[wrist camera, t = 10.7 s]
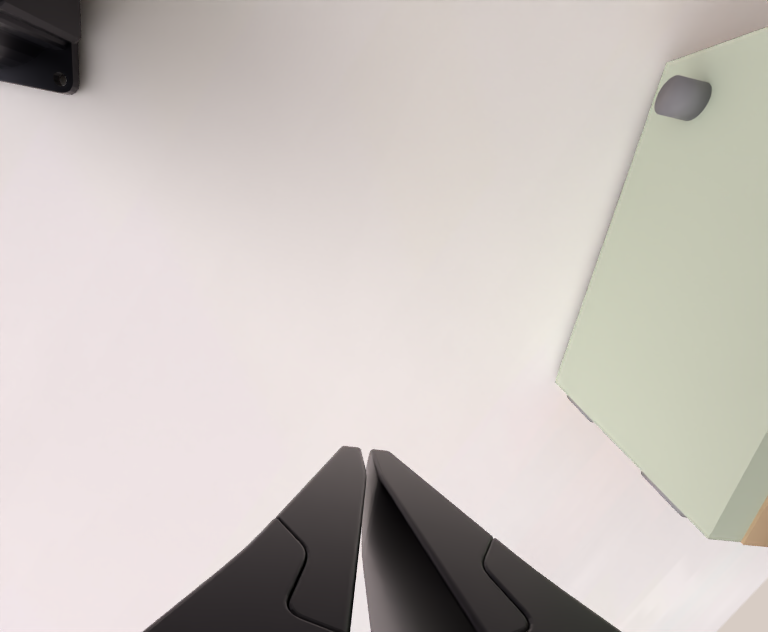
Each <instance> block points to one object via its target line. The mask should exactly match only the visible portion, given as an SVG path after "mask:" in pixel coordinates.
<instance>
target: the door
mask: <svg viewBox="0 0 768 632" xmlns="http://www.w3.org/2000/svg"><path fill="white" fill-rule="evenodd" d="M555 383H556V384H557V385H558V386H559V387H560V388H561V389H562V390H563V391H564V392H565V393H566V394H567V397H568V399H569V400H570V401H571V402H572V403H573V404H574V405H575V406H576V407H577V408H578V409H579V410H580V412H581V413H582V414H583V415H584V416H585V417H586V418H587V419H588V420H589V421H590V422H594V423H595V424H596V425H597V426H598V427H599V428H600V429H601V430H602V431H603V432H604V433H605V434H606V435H607V436H608V437H609V438H610V439H611V440H612V441H613V442H614V443H615V444H616V445H617V446H618V447H619V448H620V449H621V450H622V451H623V452H624V453H625V454H626V456H627V457H628V458H629V459H630V460H631V461H632V462H633V463H634V464H635V465H636V466H637V467H638V468H639V469H640V470H641V474H642V476H643V477H644V478H645V479H646V480H647V481H648V482H649V483H650V484H651V485H652V486H653V487H654V488H655V489H656V490H657V492H658V493H659V494H660V495H661V496H662V497H663V498H664V499H665V500H666V501H667V502H668V503H669V504H670V505H671V506H672V507H673V508H674V509H675V510H676V511H677V512H678V513H679V514H680V515H681V516H682V517H686V518H688V519H689V520H690V521H691V522H692V523H693V524H694V525H695V526H696V527H697V528H698V529H699V530H700V531H701V532H702V533H703V534H704V535H705V536H706V538H707V539H713V540H724V541H735V542H741V541H742V539H743V537H744V535H745V534H746V532H747V530H748V529H749V527H750V525H751V523H752V522H753V520H754V518H755V517H756V515H757V513H758V511H759V510H760V508H761V506H762V504H763V503H764V501H765V499H766V498H767V496H768V27H765V28H762V29H760V30H757V31H754V32H751V33H748V34H746V35H743V36H740V37H737V38H734V39H732V40H729V41H726V42H723V43H720V44H718V45H715V46H712V47H709V48H706V49H704V50H701V51H698V52H695V53H692V54H690V55H687V56H684V57H681V58H678V59H676V60H673V61H670V62H667V63H666V66H665V68H664V71H663V74H662V77H661V80H660V83H659V86H658V88H657V91H656V94H655V97H654V100H653V103H652V106H651V108H650V111H649V114H648V117H647V120H646V123H645V126H644V128H643V131H642V134H641V137H640V140H639V143H638V146H637V149H636V151H635V154H634V157H633V160H632V163H631V166H630V169H629V171H628V174H627V177H626V180H625V183H624V186H623V189H622V191H621V194H620V197H619V200H618V203H617V206H616V209H615V211H614V214H613V217H612V220H611V223H610V226H609V229H608V232H607V234H606V237H605V240H604V243H603V246H602V249H601V252H600V254H599V257H598V260H597V263H596V266H595V269H594V272H593V274H592V277H591V280H590V283H589V286H588V289H587V292H586V294H585V297H584V300H583V303H582V306H581V309H580V312H579V314H578V317H577V320H576V323H575V326H574V329H573V332H572V335H571V337H570V340H569V343H568V346H567V349H566V352H565V355H564V357H563V360H562V363H561V366H560V369H559V372H558V375H557V377H556V380H555Z"/></svg>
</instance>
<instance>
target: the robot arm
mask: <svg viewBox="0 0 768 632" xmlns="http://www.w3.org/2000/svg"><path fill="white" fill-rule="evenodd" d="M80 38H81V24H80V0H0V81H2V82H7V83H12V84H17V85H22V86H27V87H32V88H37V89H42V90H47V91H52V92H57V93H61V94H66V95H72V94H74V93H76V92H77V90H78V89H79V62H78V41H79V40H80ZM63 74H64V75H65V77H66V80H67V82H66V84H65V85H64V86H62V85H61V83H60V76H61V75H63ZM361 527H362V560H363V570H364V578H365V586H366V595H367V603H368V611H369V619H370V628H371V632H621V631H620V630H618V629H617V628H616V627H614V626H613V625H611V624H610V623H608V622H607V621H606V620H604V619H603V618H601V617H600V616H599V615H597V614H596V613H594V612H593V611H592V610H590V609H589V608H587V607H586V606H585V605H583V604H582V603H580V602H579V601H578V600H576V599H575V598H573V597H572V596H570V595H569V594H568V593H566V592H565V591H563V590H562V589H561V588H559V587H558V586H557V585H555V584H554V583H553V582H551V581H550V580H548V579H547V578H546V577H544V576H543V575H542V574H540V573H539V572H537V571H536V570H535V569H534V568H532V567H531V566H530V565H528V564H527V563H526V562H525V561H523V560H522V559H521V558H520V557H518V556H517V555H516V554H514V553H513V552H512V551H511V550H509V549H508V548H507V547H506V546H505V545H503V544H502V543H501V542H500V541H499V540H497V539H496V538H494V539H493V537H492V536H491V535H490V534H489V533H488V532H486V531H485V530H484V529H483V528H482V527H480V526H479V525H478V524H477V523H476V522H474V521H473V520H472V519H471V518H469V517H468V516H467V515H466V514H465V513H463V512H462V511H461V510H460V509H459V508H457V507H456V506H455V505H454V504H452V503H451V502H450V501H449V500H448V499H446V498H445V497H444V496H443V495H442V494H440V493H439V492H438V491H437V490H435V489H434V488H433V487H432V486H431V485H429V484H428V483H427V482H426V481H424V480H423V479H422V478H421V477H420V476H418V475H417V474H416V473H415V472H414V471H412V470H411V469H410V468H409V467H407V466H406V465H405V464H404V463H403V462H401V461H400V460H399V459H398V458H397V457H395V456H394V455H393V454H392V453H390V452H389V451H384V450H375V449H373V450H371V451H370V453H369V458H368V462H367V467H366V469H365V465H364V461H363V457H362V452H361V449H360V448H357V447H349V446H343V447H341V448H340V449H339V450H338V451H337V452H336V454H335V455H334V456H333V457H332V458H331V459H330V460H329V461H328V462H327V463H326V464H325V465H324V466H323V467H322V468H321V470H320V471H319V472H318V473H317V474H316V475H315V476H314V477H313V478H312V479H311V480H310V481H309V482H308V483H307V485H306V486H305V487H304V488H303V489H302V490H301V491H300V492H299V493H298V494H297V495H296V496H295V497H294V498H293V500H292V501H291V502H290V503H289V504H288V505H287V506H286V507H285V508H284V509H283V510H282V511H281V512H280V513H279V515H278V516H277V517H276V518H275V519H273V520H272V521H271V522H270V523H269V524H268V525H267V527H266V528H265V529H264V530H263V531H262V532H261V533H260V534H259V535H258V536H257V537H256V538H255V539H254V540H253V541H252V542H251V543H250V544H249V545H248V546H247V547H246V548H244V549H243V550H242V551H241V552H240V553H239V554H237V555H236V556H235V557H234V558H233V559H232V560H230V561H229V562H228V563H227V564H226V565H224V566H223V567H222V568H221V569H220V570H219V571H217V572H216V573H215V574H214V575H212V576H211V577H210V578H209V579H207V580H206V581H205V582H204V583H202V584H201V585H200V586H199V587H197V588H196V589H195V590H194V591H192V592H191V593H190V594H189V595H188V596H186V597H185V598H184V599H183V600H181V601H180V602H179V603H178V604H176V605H175V606H174V607H173V608H171V609H170V610H169V611H168V612H166V613H165V614H164V615H163V616H161V617H160V618H159V619H158V620H156V621H155V622H154V623H153V624H152V625H150V626H149V627H148V628H147V629H145V630H144V631H143V632H350V627H351V618H352V609H353V600H354V591H355V582H356V572H357V563H358V554H359V545H360V536H361Z"/></svg>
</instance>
